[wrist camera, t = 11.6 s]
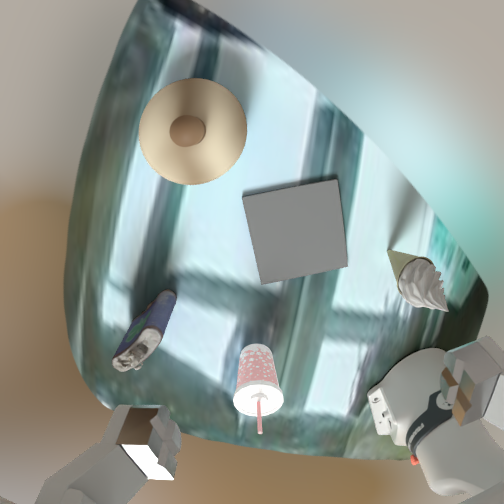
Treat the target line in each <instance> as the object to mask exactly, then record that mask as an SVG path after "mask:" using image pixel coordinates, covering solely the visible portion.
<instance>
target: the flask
mask: <svg viewBox="0 0 504 504" xmlns="http://www.w3.org/2000/svg"><path fill="white" fill-rule="evenodd" d="M176 298H177V297H176V294H175V293H174V292H173V291H171V290H169V289H168V290H164V291H162V292H161V293H159V294H158V297H157V298H156V299H155V300H154V301H153V302H151V303H150V304H149V305H148V306H147V308H146V311H144V312H143V311H142V314H141V315H140V316H137V318H135V319H134V320H133V321H132V324H131V325H130V327H129V329H128V331H127V333H126V335H125V336H124V338H123V340H122V342H121V344H120V346H119V348H118V349H117V351H116V353H115V355H114V357H113V359H112V365H113V367H114V368H116V369H117V370H119V371H122V372H123V371H127V370H129V369H131V368H133V367H134V369H135V370H137V369H140V368H141V366H139V364H140V363H141V365H143V363H142V362H143V361H145V359H147V358H148V357H149V356H150V355H151V353H152V352H153V351H154V350H155V349H156V348H157V346H158V345H159V344H160V342H161V341H162V338H163V335H164V333H165V329H166V327H167V324H168V321H169V319H170V316H171V313H172V311H173V308H174V306H175V304H176ZM137 365H138V366H137ZM135 366H137V367H135Z"/></svg>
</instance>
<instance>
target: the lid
mask: <svg viewBox="0 0 504 504" xmlns="http://www.w3.org/2000/svg"><path fill="white" fill-rule="evenodd" d="M246 136H247V123H246V117H245V114H244V111H243V109H242V106H241V104H240V103H239V101H238V100H237V98H236V97H235V96H234V95H233V94H232V93H231V92H230V91H229V90H228V89H226V88H225V87H223V86H222V85H220V84H218V83H216V82H213V81H210V80H207V79H201V78H190V79H183V80H179V81H176V82H173V83H171V84H169V85H167V86H166V87H164V88H163V89H161V90H160V91H159V92H158V93H156V94H155V95H154V96H153V98H152V99H151V100H150V101H149V103H148V104H147V106H146V108H145V110H144V112H143V114H142V117H141V120H140V125H139V141H140V147H141V150H142V153H143V155H144V157H145V159H146V160H147V162H148V163H149V165H150V166H151V167H152V168H153V169H154V170H155V171H156V172H157V173H158V174H159V175H161V176H162V177H164V178H166V179H168V180H170V181H172V182H175V183H179V184H186V185H197V184H203V183H207V182H210V181H212V180H215V179H217V178H219V177H220V176H222V175H223V174H225V173H226V172H227V171H228V170H229V169H230V168H231V167H232V166H233V165H234V164H235V163H236V161H237V160H238V159H239V157H240V155H241V153H242V151H243V148H244V146H245V142H246Z"/></svg>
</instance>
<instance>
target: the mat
mask: <svg viewBox="0 0 504 504" xmlns="http://www.w3.org/2000/svg"><path fill="white" fill-rule="evenodd" d="M242 200H243V205H244V209H245V214H246V218H247V223H248V227H249V231H250V236H251V240H252V245H253V249H254V254H255V258H256V263H257V267H258V271H259V276H260V280H261V285H263V284H268V283H273V282H278V281H282V280H287V279H292V278H297V277H302V276H307V275H311V274H316V273H321V272H325V271H330V270H334V269H339V268H344V267H348V263H347V253H346V243H345V234H344V226H343V217H342V209H341V202H340V195H339V188H338V181H337V179H331V180H326V181H320V182H315V183H309V184H304V185H299V186H293V187H288V188H283V189H278V190H273V191H268V192H263V193H258V194H253V195H249V196H244V197H242Z"/></svg>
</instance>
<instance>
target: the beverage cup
mask: <svg viewBox="0 0 504 504" xmlns="http://www.w3.org/2000/svg"><path fill="white" fill-rule="evenodd" d="M233 401H234V405H235V407H236V408H237V409H238V410H239V411H240V412H242V413H244V414H246V415H251V416H257V422H258V434H262V420H261V416H265V415H268V414H271V413H274V412H275V411H276V410H278V409H279V408H280V407H281V405H282V403H283V394H282V390H281V389H280V388H279V384H278V379H277V375H276V370H275V365H274V361H273V356H272V352H271V350H270V349H269V348H268V347H267V346H265V345H262V344H251V345H248V346H246V347H245V348H244V349H243V350H242V351H241V354H240V360H239V369H238V379H237V388H236V391H235V393H234V398H233Z"/></svg>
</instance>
